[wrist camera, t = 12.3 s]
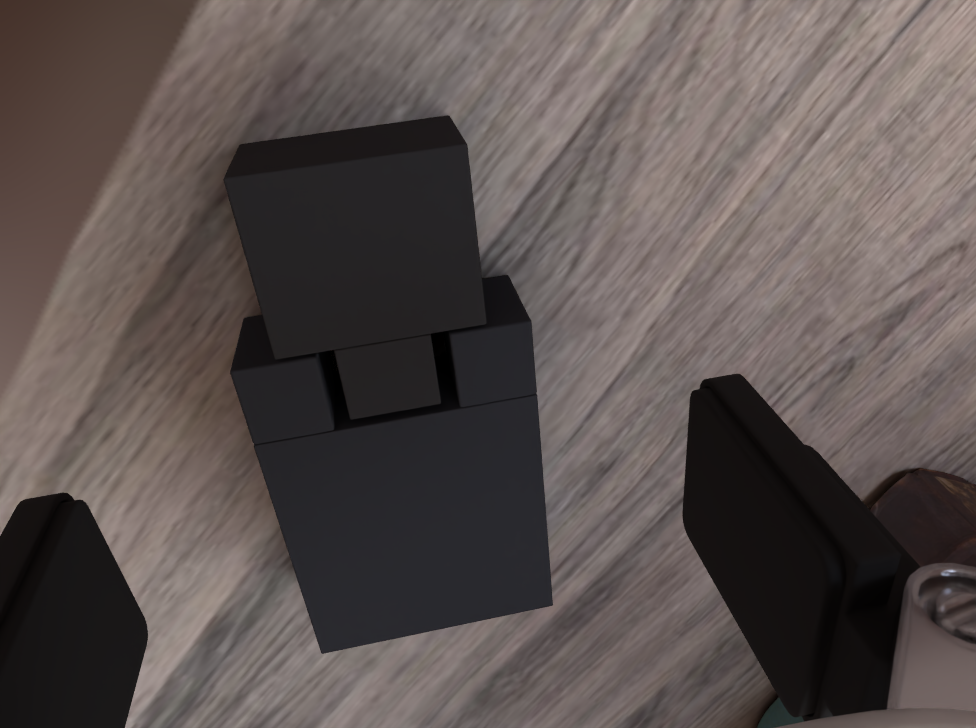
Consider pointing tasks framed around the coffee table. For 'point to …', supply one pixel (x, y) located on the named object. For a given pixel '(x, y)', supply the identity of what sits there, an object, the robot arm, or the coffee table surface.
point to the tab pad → (363, 251)
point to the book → (931, 517)
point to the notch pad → (407, 483)
